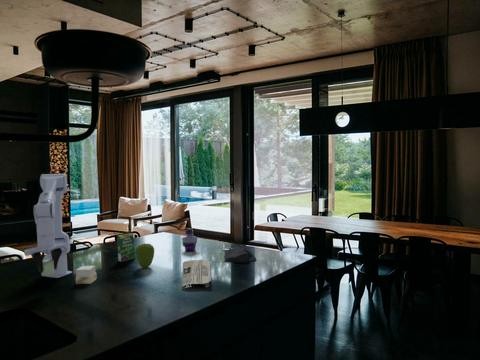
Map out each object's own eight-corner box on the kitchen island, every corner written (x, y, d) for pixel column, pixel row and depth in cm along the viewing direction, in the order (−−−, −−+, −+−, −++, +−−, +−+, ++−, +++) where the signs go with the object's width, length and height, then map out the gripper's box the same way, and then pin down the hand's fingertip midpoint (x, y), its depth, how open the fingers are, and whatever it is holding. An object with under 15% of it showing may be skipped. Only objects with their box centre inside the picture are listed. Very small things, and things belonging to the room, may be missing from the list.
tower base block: (75, 284, 147) (75, 277, 146) (82, 279, 153) (82, 272, 152) (90, 284, 146) (90, 277, 146) (96, 279, 152) (96, 272, 152)
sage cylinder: (38, 275, 137) (37, 262, 137) (48, 272, 141) (48, 259, 141) (47, 276, 135) (46, 263, 135) (57, 273, 139) (56, 260, 139)
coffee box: (120, 262, 176) (119, 235, 175) (117, 261, 178) (116, 235, 177) (135, 259, 182) (134, 233, 181) (132, 258, 184) (131, 232, 183)
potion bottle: (178, 250, 197) (178, 228, 196) (192, 247, 203) (191, 226, 202) (187, 253, 190) (187, 230, 190) (201, 250, 196) (200, 228, 196)
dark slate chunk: (252, 251, 193) (252, 242, 193) (256, 262, 171) (256, 252, 171) (223, 252, 192) (223, 243, 192) (224, 264, 170) (224, 254, 170)
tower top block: (76, 277, 146) (76, 269, 146) (82, 273, 152) (82, 265, 152) (90, 276, 146) (89, 269, 146) (95, 272, 152) (95, 265, 152)
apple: (149, 270, 161) (148, 245, 161) (132, 270, 163) (131, 244, 162) (158, 265, 170) (157, 240, 169) (141, 264, 172) (140, 240, 171)
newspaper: (183, 265, 170) (182, 258, 170) (209, 263, 172) (209, 256, 172) (182, 292, 135) (181, 282, 135) (215, 289, 137) (215, 280, 137)
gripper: (28, 239, 129) (30, 277, 130) (70, 232, 140) (71, 267, 141) (21, 237, 134) (23, 273, 135) (62, 230, 145) (63, 264, 145)
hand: (47, 270), depth 138 cm, fingers closed on sage cylinder, 4 cm apart
